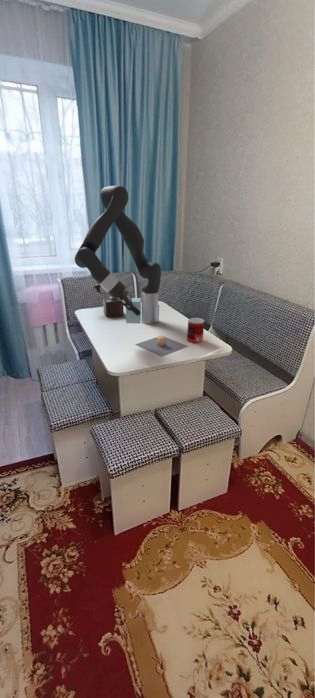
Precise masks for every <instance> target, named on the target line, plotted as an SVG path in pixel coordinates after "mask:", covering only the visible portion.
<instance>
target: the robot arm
mask: <svg viewBox="0 0 315 698" xmlns="http://www.w3.org/2000/svg"><path fill="white" fill-rule="evenodd" d="M100 191H101V192H100V200H101V203H102V205H103V207H104V209H105V211H104V212H103V213H102V214H101V215H100V216H99V217H98V218H96V220H95V221H94V222H93V223H92V224H91V225H90V227H89V228H88V231H87V233H86V235H85V237H84V240H83V242H82V243H81V245H80V247H79V248H78V250H77V251H76V254H75V255H74V263H75V264H76V266H77V267H79V268H81V269H88V271H89V272H90V274H91V275H90V276H91V278H93V280H95V281H96V282H97V284H99V285H100V287H101V288H102V289H103V290H104V292H107V293H106V294H109V296H112V297H113V298H114V299H116V298H117V297H119V298H120V299H121V300H120V302H121V303H122V304H123V307H125V309H126V308H127V309H128V310H129V311H130V310H131V311H133V312H134V313H135V314H136V315H137V316H138V315H140V314H141V323H143V324H146V325H153V324H157V323H158V322H159V321H160V304H159V290H160V287H161V279H162V277H161V276H162V268H161V265H160V264H159V263H158V262H153V261H149V260H148V258H147V257H146V255H145V253H144V250H145V239H144V236H143V233H142V232H141V230H140V228H139V226H138V225H137V224H136V223H135V222H134V221H133V220H132V219H131V218H130V217H129V216H127V214H126V213H125V212H124V209H125V208H126V206H127V204H128V202H129V191H128V190H127V188H126V187H124V186H123V185H109V186H105V187H103V188H102V189H101V190H100ZM113 224H115V226H116V228H117V230H118V232H119V234H120V235H121V238H122V240H123V242H124V244H125V246H126V247H127V249H128V251H129V253H130V254H131V257H132V260H133V262H134V263H135V266H136V269H137V271H138V274H139V275H140V277H141V278H143V279H146V280H148V281H147V284H145V285H143V286H141V312H140V311H139V310H138V309H137V308H136V307H135V306H134V305H133V304H132V300H131V299H130V298H134V297H133V296H132V295H131V294H130V293H129V292H128V291H127V290H126V288H127V287H126V285H125V284H124V283H123V282H122V281H121V280H120V279H119V278H118V277H117V276H116V275H115V274H113V273H112V272H111V271H110V270H109V269H108V268H107V267H106V266H105V265H103V262H101V259H99V257H98V255H97V254H96V252H98V251H97V250H98V249H99V248H100V247H101V245H102V243H103V242H104V239H105V237H106V235H107V234H108V232H109V230H110V228H111V227H112V225H113ZM128 301H130V302H128ZM129 305H130V306H131V307H129Z"/></svg>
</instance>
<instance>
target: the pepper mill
mask: <svg viewBox="0 0 315 698" xmlns="http://www.w3.org/2000/svg"><path fill="white" fill-rule="evenodd" d="M93 289H95V291H96V292H95V293H98V294H100V295H105V294H108V293H107V292H106V291H103V292H102V291H101V285H100V284H99V283H96V284H94V286H93ZM120 300H121V299H120V298H119V297H117V298H116V299H114V298H113V297H112V296H111V295H109V296H108V297H103V298H102V302H103V303H102V305H103V312H102V313H103V315H104V316H105V317H106V318H116V317H117V318H119V317H124V305H123V304H122V303H121V302H120Z"/></svg>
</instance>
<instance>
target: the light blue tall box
mask: <svg viewBox="0 0 315 698" xmlns="http://www.w3.org/2000/svg"><path fill="white" fill-rule="evenodd" d="M130 299H131V300H132V304H133V305H134V306H135V307H136V308H137V309H138V310H139V311H140V312H141V314H140V315H138V316H137V315H136V314H135V313H134V312H133V311H131V310H130V311H129V310H128V309H127V308H126V307H125V320H126V321H125V323H126V324H141V323H142V297H133V298H130ZM128 302H130V301H128ZM129 307H131V306H130V305H129Z"/></svg>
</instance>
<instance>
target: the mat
mask: <svg viewBox="0 0 315 698" xmlns="http://www.w3.org/2000/svg"><path fill="white" fill-rule="evenodd" d="M165 337H166V346H165V347H159V346H158V336H157V337H154V338H150V339H146V340H144V341H140V342H138V343H135V346H137V347H139V348H141V349H143V350H146V351H147V352H150V353H153V354H155V355H156V356H158V357H161V358H163V357H165V356H168V355H170V354H172V353H173V354H174V353H175V352H178V351H180V350H183V349H185V348H188V347H189V345H187V344H184V343H182V342H179V341H176V340H175V339H171V338H170V337H167V336H165Z"/></svg>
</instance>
